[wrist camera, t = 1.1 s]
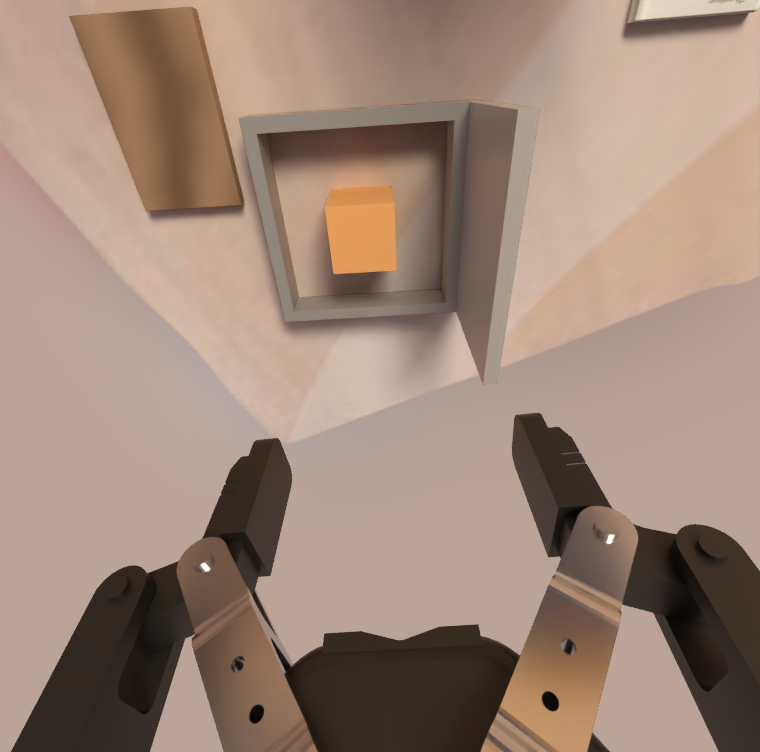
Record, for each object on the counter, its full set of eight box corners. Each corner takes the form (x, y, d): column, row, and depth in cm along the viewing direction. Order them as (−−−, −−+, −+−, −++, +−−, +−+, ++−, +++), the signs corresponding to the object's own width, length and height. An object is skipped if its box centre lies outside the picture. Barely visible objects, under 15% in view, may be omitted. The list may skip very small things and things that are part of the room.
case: (290, 307, 39) (257, 396, 28) (249, 115, 29) (173, 133, 18) (461, 297, 39) (497, 383, 27) (475, 99, 29) (540, 107, 18)
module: (338, 248, 36) (333, 274, 31) (331, 189, 33) (324, 207, 28) (393, 245, 36) (396, 270, 31) (391, 185, 33) (394, 202, 28)
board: (151, 207, 33) (146, 210, 32) (78, 18, 26) (69, 16, 25) (244, 201, 33) (241, 204, 32) (196, 9, 26) (190, 6, 25)
